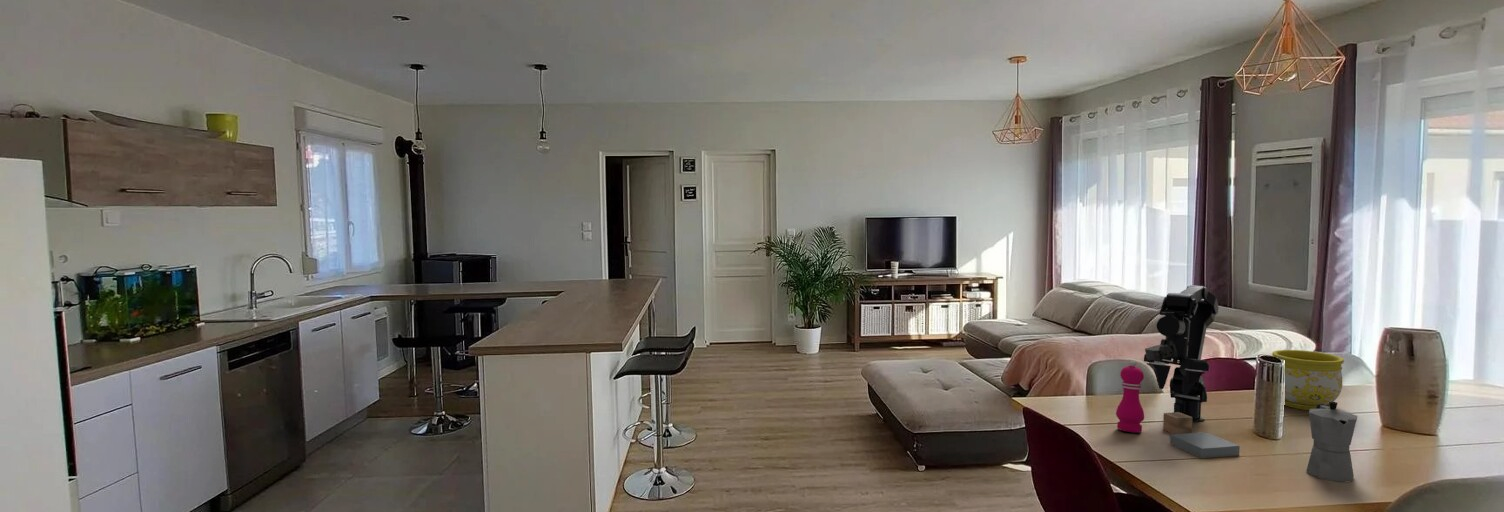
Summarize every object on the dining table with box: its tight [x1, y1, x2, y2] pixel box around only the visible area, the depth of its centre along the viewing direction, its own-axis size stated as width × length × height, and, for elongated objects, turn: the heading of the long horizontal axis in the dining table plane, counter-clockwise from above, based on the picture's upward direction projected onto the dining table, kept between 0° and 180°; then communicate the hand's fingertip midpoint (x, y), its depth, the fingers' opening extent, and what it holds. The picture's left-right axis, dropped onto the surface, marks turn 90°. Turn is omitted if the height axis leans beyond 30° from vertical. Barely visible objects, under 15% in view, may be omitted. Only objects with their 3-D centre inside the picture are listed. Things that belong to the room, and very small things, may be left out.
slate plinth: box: [1169, 431, 1241, 459], centre depth 186 cm, size 11×11×2 cm
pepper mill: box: [1115, 360, 1145, 433], centre depth 202 cm, size 7×7×20 cm
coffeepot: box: [1305, 401, 1358, 483], centre depth 168 cm, size 15×9×18 cm, turn 159°
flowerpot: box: [1271, 349, 1345, 411], centre depth 224 cm, size 18×18×16 cm
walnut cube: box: [1162, 411, 1193, 435], centre depth 200 cm, size 5×5×5 cm
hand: (1172, 391), depth 200 cm, fingers open, 9 cm apart
